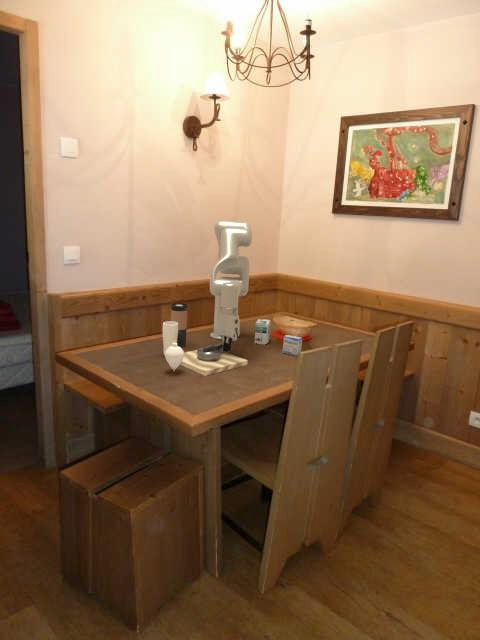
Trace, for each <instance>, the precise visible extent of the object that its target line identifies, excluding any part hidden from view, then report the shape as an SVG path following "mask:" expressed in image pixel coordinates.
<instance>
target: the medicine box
mask: <svg viewBox="0 0 480 640" xmlns="http://www.w3.org/2000/svg"><path fill="white" fill-rule="evenodd" d="M302 345H303V337H301V336H295V335H289V334H286V335H284V336H283V345H282V354H283V353H288V354H292V355H296V356H295V357H297V355H298V354H299V352H301V353H302V347H303V346H302ZM292 355H291V356H292Z"/></svg>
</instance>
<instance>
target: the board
mask: <svg viewBox="0 0 480 640" xmlns="http://www.w3.org/2000/svg"><path fill="white" fill-rule="evenodd" d="M197 350H198V349H195V350H191V351H184V358H183V360H182V362H181V363H180V364H179V366H181V367H184V368H186V369H188V370H191V371H193V372H195V373H198V374H200V375H202V376H205V377H206V376H210V375H214V374H218V373H221V372H224V371H229V370H233V369H237V368H240V367H245V366H248V360H247V359H245V358H242V357H240V356H237V355H234V354H232V353H229V352H223V353H220V359H219V360H216V361H203V360H200V359H198V358H197Z"/></svg>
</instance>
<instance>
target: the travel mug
mask: <svg viewBox="0 0 480 640" xmlns="http://www.w3.org/2000/svg"><path fill="white" fill-rule="evenodd" d="M170 321H173V322H177V323H178V337H177V346H178V347H181V348H184V347H186V343H187V328H188V325H187V323H188V304H187V303H182V302H173V303H171V306H170Z"/></svg>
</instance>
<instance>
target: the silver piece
mask: <svg viewBox="0 0 480 640" xmlns="http://www.w3.org/2000/svg"><path fill="white" fill-rule="evenodd" d="M223 343H224V342H223V341H222V342H218V343H216V344H208V345H205V346H203V347H199V348H197V349H196V350H197V358H198V359H200V360H203V361H216V360H219V359H220V353H223V352H225V351H223Z"/></svg>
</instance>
